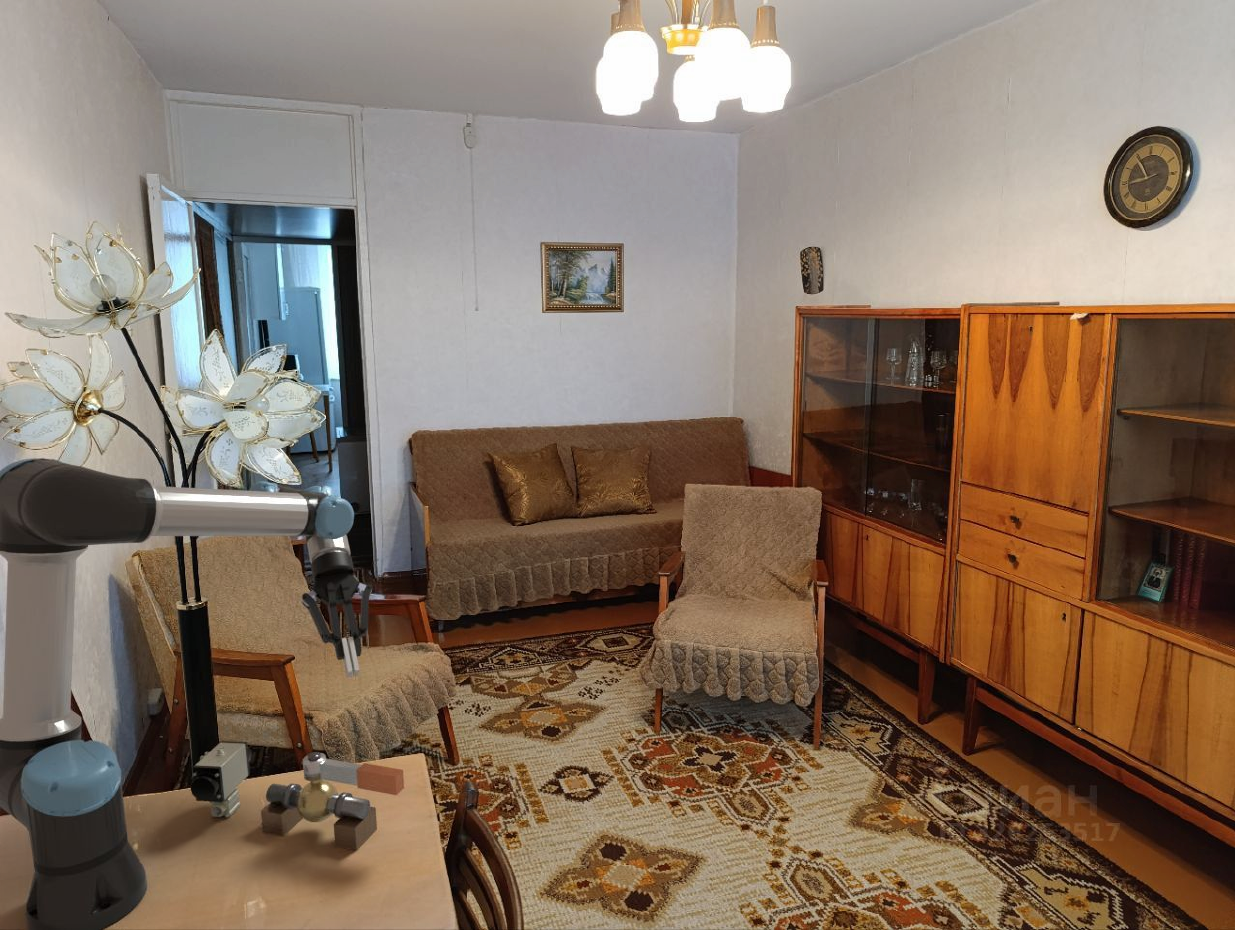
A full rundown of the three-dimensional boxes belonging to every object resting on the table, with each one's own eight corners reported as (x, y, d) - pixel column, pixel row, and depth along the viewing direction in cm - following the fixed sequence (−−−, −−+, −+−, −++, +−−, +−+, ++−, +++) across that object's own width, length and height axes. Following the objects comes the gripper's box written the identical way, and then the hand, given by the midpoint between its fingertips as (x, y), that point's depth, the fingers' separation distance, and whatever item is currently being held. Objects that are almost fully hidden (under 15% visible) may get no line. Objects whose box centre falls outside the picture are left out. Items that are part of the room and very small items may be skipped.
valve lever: (299, 780, 140) (297, 758, 139) (313, 768, 143) (311, 748, 142) (394, 797, 134) (392, 775, 134) (406, 785, 138) (405, 764, 137)
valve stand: (261, 833, 142) (256, 779, 140) (287, 811, 148) (282, 759, 146) (355, 851, 137) (351, 795, 135) (378, 828, 143) (374, 774, 141)
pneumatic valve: (256, 793, 154) (250, 732, 152) (220, 832, 142) (213, 766, 140) (227, 792, 154) (221, 730, 152) (189, 830, 143) (182, 765, 141)
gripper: (364, 564, 169) (388, 674, 157) (292, 574, 163) (312, 689, 151) (368, 545, 163) (393, 657, 152) (294, 554, 157) (314, 672, 145)
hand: (353, 673), depth 151 cm, fingers closed
